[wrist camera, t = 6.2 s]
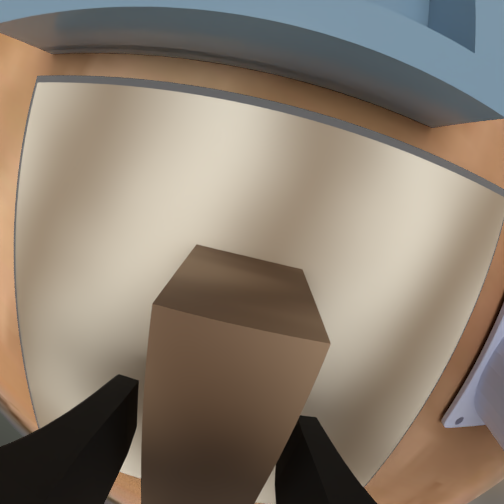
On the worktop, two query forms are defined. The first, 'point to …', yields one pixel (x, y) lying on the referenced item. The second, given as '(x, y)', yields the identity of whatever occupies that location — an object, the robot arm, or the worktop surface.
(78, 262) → the lid
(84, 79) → the mat
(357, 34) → the dish
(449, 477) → the worktop surface
